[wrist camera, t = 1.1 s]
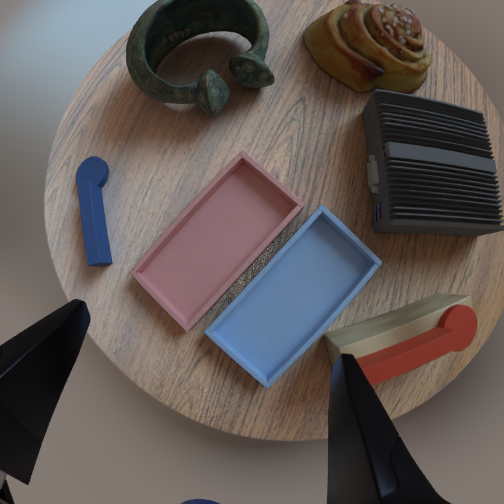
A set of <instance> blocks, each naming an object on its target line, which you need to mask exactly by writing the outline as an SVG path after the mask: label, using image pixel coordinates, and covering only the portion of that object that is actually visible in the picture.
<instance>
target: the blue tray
mask: <svg viewBox="0 0 504 504" xmlns="http://www.w3.org/2000/svg"><path fill="white" fill-rule="evenodd" d="M382 263H383V262H382V261H381V260H380V259H379V258H378V257H377V256H376V255H375V254H374V253H373V252H372V251H371V250H370V249H369V248H368V247H367V246H366V245H365V244H364V243H363V242H362V241H361V240H360V239H359V238H358V237H357V236H355V235H354V234H353V233H352V232H351V231H350V230H349V229H348V228H347V227H346V226H345V225H344V224H343V223H342V222H341V221H340V220H339V219H337V218H336V217H335V216H334V215H333V214H332V213H331V212H330V211H329V210H328V209H327V208H325V207H324V206H323V205H322V204H321V205H320V206H319V208H318V209H317V210H316V211H315V212H314V213H313V214H312V215H311V216H310V218H309V219H308V220H307V221H306V222H305V223H304V224H303V225H302V226H301V227H300V229H299V230H298V231H297V232H296V233H295V234H294V235H293V236H292V237H291V238H290V240H289V241H288V242H287V243H286V244H285V245H284V246H283V247H282V248H281V249H280V251H279V252H278V253H277V254H276V255H275V256H274V257H273V258H272V259H271V260H270V261H269V263H268V264H267V265H266V266H265V267H264V268H263V269H262V270H261V271H260V272H259V273H258V274H257V276H256V277H255V278H254V279H253V280H252V281H251V282H250V283H249V284H248V285H247V286H246V287H245V288H244V290H243V291H242V292H241V293H240V294H239V295H238V296H237V297H236V298H235V299H234V300H233V301H232V302H231V303H230V305H229V306H228V307H227V308H226V309H225V310H224V311H223V312H222V313H221V314H220V315H219V316H218V317H217V318H216V319H215V320H214V322H213V323H212V324H211V325H210V326H209V327H208V328H207V329H206V330H205V331H204V333H205V334H206V335H207V336H208V337H209V338H210V339H211V340H212V341H213V342H214V343H216V344H217V345H218V346H219V347H220V348H221V349H222V350H223V351H224V352H225V353H227V354H228V355H229V356H230V357H231V358H232V359H233V360H234V361H235V362H237V363H238V364H239V365H240V366H241V367H242V368H243V369H245V370H246V371H247V372H248V373H249V374H250V375H252V376H253V377H254V378H255V379H256V380H257V381H259V382H260V383H261V384H262V385H263V386H265V387H266V388H267V389H268V388H269V387H270V386H271V385H272V384H273V383H274V382H275V381H276V380H277V379H278V378H279V377H280V376H281V375H282V374H283V373H284V372H285V371H286V370H287V369H288V368H289V367H290V366H291V365H292V364H293V363H294V362H295V361H296V360H297V359H298V358H299V357H300V356H301V355H302V354H303V353H304V352H305V351H306V350H307V349H308V348H309V347H310V346H311V345H312V344H313V343H314V342H315V340H316V339H317V338H318V337H319V336H320V335H321V334H322V333H323V332H324V331H325V330H326V329H327V327H328V326H329V325H330V324H331V323H332V322H333V321H334V320H335V319H336V318H337V316H338V315H339V314H340V313H341V312H342V311H343V310H344V308H345V307H346V306H347V305H348V304H349V303H350V302H351V300H352V299H353V298H354V297H355V296H356V295H357V293H358V292H359V291H360V290H361V289H362V287H363V286H364V285H365V284H366V283H367V281H368V280H369V279H370V278H371V277H372V275H373V274H374V273H375V272H376V270H377V269H378V268H379V266H380V265H381V264H382Z"/></svg>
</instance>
